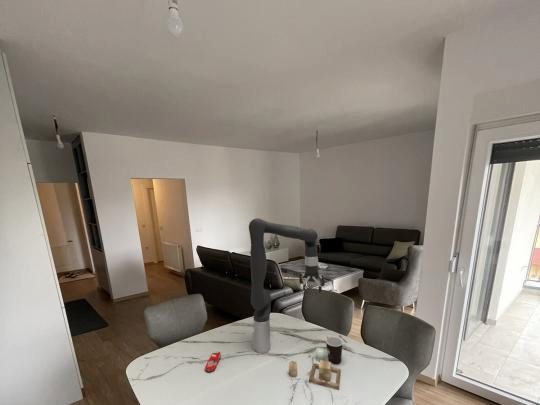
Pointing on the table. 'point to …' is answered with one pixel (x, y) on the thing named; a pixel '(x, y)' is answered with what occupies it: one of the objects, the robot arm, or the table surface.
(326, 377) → the oak block
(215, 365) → the race car
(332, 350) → the coffee mug
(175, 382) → the table surface
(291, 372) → the cork cylinder
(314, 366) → the walnut tray
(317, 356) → the pale green rounded cylinder
